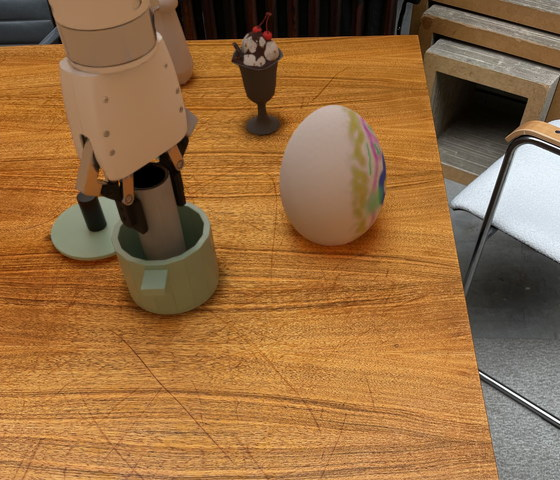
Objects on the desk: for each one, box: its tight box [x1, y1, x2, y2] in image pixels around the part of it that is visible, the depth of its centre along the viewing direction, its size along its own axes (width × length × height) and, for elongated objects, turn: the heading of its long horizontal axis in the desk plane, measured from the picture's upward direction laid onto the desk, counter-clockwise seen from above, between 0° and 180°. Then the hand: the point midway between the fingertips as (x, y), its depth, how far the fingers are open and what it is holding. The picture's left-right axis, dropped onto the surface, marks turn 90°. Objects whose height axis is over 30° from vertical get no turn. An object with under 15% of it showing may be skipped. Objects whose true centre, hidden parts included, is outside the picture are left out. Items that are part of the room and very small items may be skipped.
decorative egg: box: [278, 104, 388, 247], centre depth 72 cm, size 12×12×15 cm
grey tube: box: [133, 161, 186, 261], centre depth 66 cm, size 4×4×10 cm
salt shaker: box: [153, 0, 195, 86], centre depth 95 cm, size 6×6×13 cm
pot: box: [111, 201, 220, 316], centre depth 70 cm, size 10×16×8 cm, turn 179°
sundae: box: [230, 12, 284, 136], centre depth 85 cm, size 7×7×15 cm
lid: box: [50, 191, 120, 262], centre depth 77 cm, size 11×11×6 cm
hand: (155, 212), depth 65 cm, fingers closed on grey tube, 4 cm apart
